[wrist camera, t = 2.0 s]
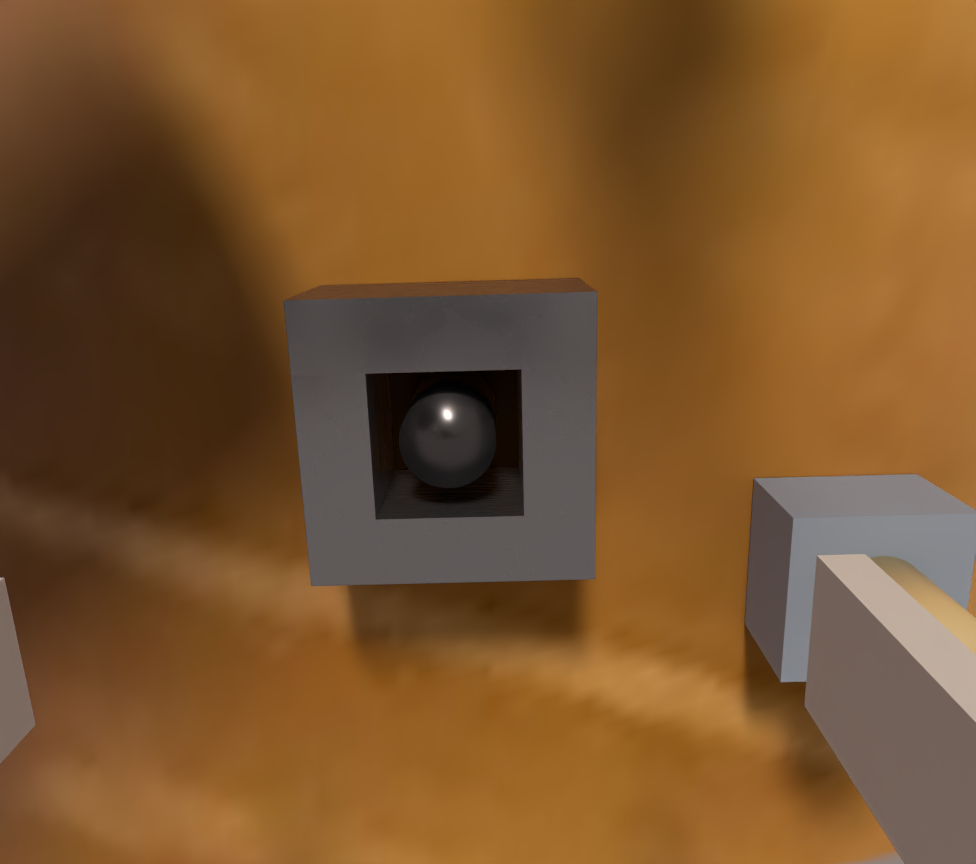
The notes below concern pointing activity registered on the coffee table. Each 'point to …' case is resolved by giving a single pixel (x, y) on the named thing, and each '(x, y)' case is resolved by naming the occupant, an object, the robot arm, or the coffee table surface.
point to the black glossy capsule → (450, 429)
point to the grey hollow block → (369, 436)
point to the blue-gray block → (853, 530)
